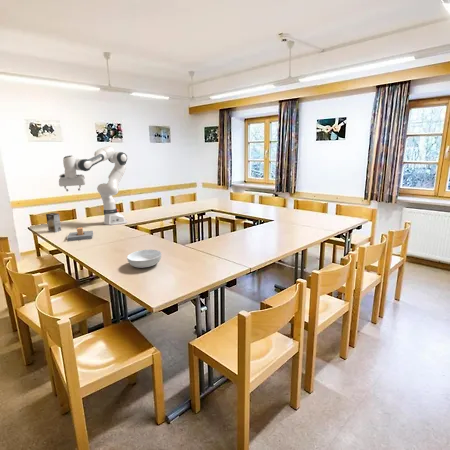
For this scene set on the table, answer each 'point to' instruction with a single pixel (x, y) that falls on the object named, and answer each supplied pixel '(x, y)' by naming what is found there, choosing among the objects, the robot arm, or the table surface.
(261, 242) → the table surface
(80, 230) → the plug
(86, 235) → the socket plate
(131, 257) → the serving bowl
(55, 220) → the coffee box
